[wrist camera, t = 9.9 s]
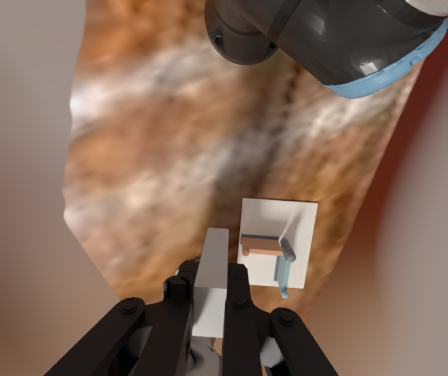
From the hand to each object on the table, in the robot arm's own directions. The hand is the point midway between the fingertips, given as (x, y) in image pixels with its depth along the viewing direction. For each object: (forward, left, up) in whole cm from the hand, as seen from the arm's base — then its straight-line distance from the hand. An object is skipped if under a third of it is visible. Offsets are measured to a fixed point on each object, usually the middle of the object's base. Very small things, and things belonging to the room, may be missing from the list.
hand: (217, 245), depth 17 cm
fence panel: (+15, +8, -32) cm, 36 cm away
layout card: (+16, +12, -32) cm, 38 cm away
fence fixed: (+19, +14, -32) cm, 40 cm away
